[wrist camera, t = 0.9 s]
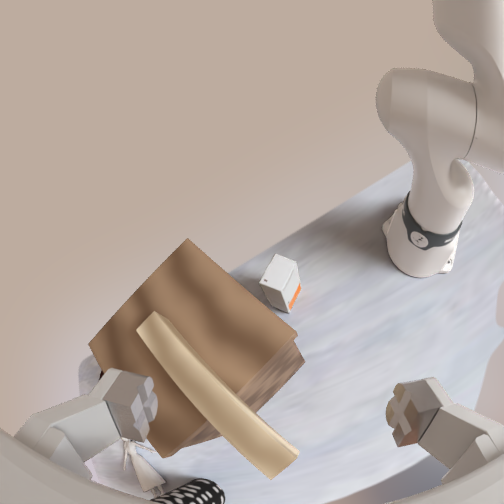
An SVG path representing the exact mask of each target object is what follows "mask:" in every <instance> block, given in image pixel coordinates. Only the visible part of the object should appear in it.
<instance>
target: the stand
mask: <svg viewBox="0 0 504 504" xmlns="http://www.w3.org/2000/svg"><path fill="white" fill-rule="evenodd" d="M154 311H155V312H157V313H158V314H160V315H162V316H164V317H165V318H167V319H168V320H169V321H170V322H171V323H172V325H173V326H174V327H175V328H176V329H177V331H178V332H179V333H180V334H181V335H182V336H183V338H184V339H185V340H186V341H187V342H188V343H189V344H190V346H191V347H192V348H193V349H194V350H195V351H196V352H197V354H198V355H199V356H200V357H201V358H202V359H203V360H204V361H205V362H206V363H207V365H208V366H209V367H210V368H211V369H212V370H213V371H214V372H215V373H216V374H217V375H218V376H219V377H220V378H221V379H222V380H223V381H224V382H225V383H226V384H227V386H228V387H229V388H230V389H231V390H232V391H233V392H234V393H235V394H236V395H237V396H238V397H239V398H240V399H242V400H243V401H244V402H245V403H246V404H247V405H248V406H249V407H250V408H251V409H252V410H253V411H254V412H255V413H256V412H257V411H258V410H259V409H260V408H261V407H262V406H263V405H264V404H265V403H266V402H267V401H268V400H269V399H270V398H271V397H272V396H273V395H274V394H275V393H276V392H277V391H278V390H279V389H280V388H281V387H282V386H283V385H284V384H285V383H286V382H287V381H288V380H289V379H290V378H291V377H292V376H293V375H294V374H295V373H296V372H297V371H298V369H299V368H300V367H301V366H302V365H303V364H304V363H305V360H304V359H303V357H302V355H301V353H300V351H299V350H298V348H297V346H296V344H295V342H294V341H293V340H294V339H295V338H296V337H297V336H298V335H297V332H296V331H295V330H294V329H293V328H291V327H290V326H289V325H288V324H287V323H285V322H284V321H283V320H282V319H281V318H279V317H278V316H277V315H276V314H275V313H273V312H272V311H271V310H270V309H269V308H267V307H266V306H265V305H264V304H263V303H261V302H260V301H259V300H258V299H257V298H256V297H254V296H253V295H252V294H251V293H250V292H249V291H247V290H246V289H245V288H244V287H243V286H242V285H240V284H239V283H238V282H237V281H236V280H235V279H233V278H232V277H231V276H230V275H229V274H228V273H227V272H225V271H224V270H223V269H222V268H221V267H220V266H219V265H217V264H216V263H215V262H214V261H213V260H211V258H209V257H208V256H207V255H206V254H205V253H204V252H203V251H202V250H200V249H199V248H198V247H197V246H196V245H195V244H193V243H192V242H191V241H190V240H189V239H188V238H187V239H186V240H185V241H184V242H183V243H182V244H181V245H180V246H179V247H178V248H177V249H176V250H175V251H174V252H173V253H172V254H171V255H170V256H169V257H168V258H167V259H166V260H165V261H164V262H163V263H162V264H161V265H160V266H159V267H158V268H157V269H156V270H155V272H153V274H152V275H151V276H150V277H149V278H148V279H147V280H146V281H145V282H144V283H143V284H142V285H141V286H140V287H139V288H138V289H137V290H136V291H135V292H134V294H133V295H132V296H131V297H130V298H129V299H128V300H127V301H126V302H125V303H124V304H123V305H122V307H121V308H120V309H119V310H118V311H117V312H116V313H115V315H113V316H112V318H111V319H110V320H109V321H108V322H107V323H106V324H105V325H104V327H103V328H102V329H101V330H100V331H99V332H98V333H97V335H96V336H95V337H94V338H93V339H92V340H91V341H90V343H89V346H90V348H91V350H92V352H93V354H94V356H95V358H96V360H97V362H98V364H99V365H100V367H101V369H102V371H103V373H104V374H105V373H106V371H107V370H108V369H110V368H114V369H118V370H122V371H127V372H132V373H136V374H140V375H145V376H149V377H151V378H152V379H153V383H154V387H153V389H152V391H153V392H154V393H155V394H156V396H157V401H158V408H157V413H156V416H155V418H154V420H153V421H151V422H149V423H148V425H149V428H150V430H149V432H148V434H147V437H146V438H147V439H148V441H149V442H150V443H151V445H152V446H153V447H154V448H155V450H156V451H157V452H158V453H159V455H160V456H161V457H162V458H166V457H170V456H172V455H174V454H175V453H176V452H177V451H179V450H180V449H181V448H184V447H188V446H191V445H195V444H198V443H202V442H205V441H208V440H212V439H215V438H218V437H221V436H222V434H221V433H220V432H219V431H218V430H217V429H216V428H215V427H214V426H213V425H212V424H211V423H210V422H209V421H208V420H207V419H206V418H205V417H204V416H203V414H202V413H201V412H200V411H199V410H198V409H197V408H196V407H195V405H194V404H193V403H192V402H191V401H190V400H189V399H188V397H187V396H186V395H185V394H184V393H183V392H182V390H181V389H180V388H179V387H178V386H177V384H176V383H175V382H174V381H173V379H172V378H171V377H170V376H169V374H168V373H167V372H166V371H165V369H164V368H163V367H162V365H161V364H160V363H159V361H158V360H157V359H156V357H155V356H154V355H153V353H152V352H151V351H150V349H149V348H148V347H147V345H146V344H145V342H144V341H143V340H142V338H141V337H140V335H139V334H138V332H137V331H136V330H137V328H138V327H139V326H140V325H141V324H142V323H143V322H144V321H145V320H146V319H147V318H148V317H149V316H150V315H151V314H152V313H153V312H154Z"/></svg>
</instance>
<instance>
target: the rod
mask: <svg viewBox="0 0 504 504" xmlns="http://www.w3.org/2000/svg"><path fill="white" fill-rule="evenodd" d="M136 331H137V332H138V334H139V335H140V337H141V338H142V340H143V341H144V342H145V344H146V345H147V347H148V348H149V349H150V351H151V352H152V353H153V355H154V356H155V357H156V359H157V360H158V361H159V363H160V364H161V365H162V367H163V368H164V369H165V371H166V372H167V373H168V374H169V376H170V377H171V378H172V379H173V381H174V382H175V383H176V384H177V386H178V387H179V388H180V389H181V390H182V392H183V393H184V394H185V395H186V396H187V397H188V399H189V400H190V401H191V402H192V403H193V404H194V405H195V407H196V408H197V409H198V410H199V411H200V412H201V413H202V414H203V416H204V417H205V418H206V419H207V420H208V421H209V422H210V423H211V424H212V425H213V426H214V427H215V428H216V429H217V430H218V431H219V432H220V433H221V434H222V436H223V437H224V438H225V439H226V440H227V441H228V442H230V443H231V444H232V445H233V446H234V447H235V448H236V449H237V450H238V451H239V452H240V453H241V454H242V455H243V456H244V457H245V458H246V459H247V460H249V461H250V462H251V463H252V464H253V465H254V466H255V467H256V468H257V469H259V470H260V471H261V472H262V473H263V474H264V475H266V476H267V477H268V478H269V479H270V480H272V479H273V478H274V477H275V476H277V475H278V474H279V473H280V472H281V471H283V470H284V469H285V468H286V467H287V466H289V465H290V464H291V463H292V462H293V461H294V460H296V459H297V457H298V454H299V452H300V451H298V450H297V449H296V448H295V447H294V446H292V445H291V444H290V443H289V442H288V441H286V440H285V439H284V438H283V437H282V436H281V435H279V434H278V433H277V432H276V431H275V430H274V429H273V428H271V427H270V426H269V425H268V424H267V423H266V422H265V421H264V420H263V419H262V418H260V417H259V416H258V415H257V414H256V413H255V412H254V411H253V410H252V409H251V408H250V407H249V406H248V405H247V404H246V403H245V402H244V401H243V400H242V399H240V398H239V397H238V396H237V395H236V394H235V393H234V392H233V391H232V390H231V389H230V388H229V387H228V386H227V384H226V383H225V382H224V381H223V380H222V379H221V378H220V377H219V376H218V375H217V374H216V373H215V372H214V371H213V370H212V369H211V368H210V367H209V366H208V365H207V363H206V362H205V361H204V360H203V359H202V358H201V357H200V356H199V355H198V354H197V352H196V351H195V350H194V349H193V348H192V347H191V346H190V344H189V343H188V342H187V341H186V340H185V339H184V338H183V336H182V335H181V334H180V333H179V332H178V331H177V329H176V328H175V327H174V326H173V325H172V323H171V322H170V321H169V320H168V319H167V318H165V317H164V316H162V315H160V314H158V313H157V312H155V311H154V312H153V313H152V314H151V315H150V316H149V317H148V318H147V319H146V320H145V321H144V322H143V323H142V324H141V325H140V326H139V327H138V328H137V330H136Z"/></svg>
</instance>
